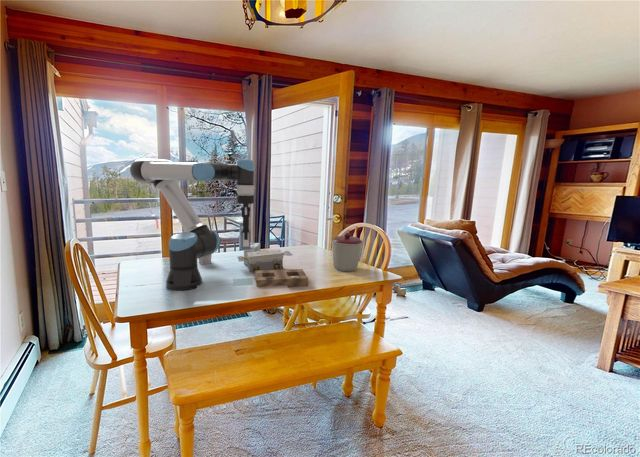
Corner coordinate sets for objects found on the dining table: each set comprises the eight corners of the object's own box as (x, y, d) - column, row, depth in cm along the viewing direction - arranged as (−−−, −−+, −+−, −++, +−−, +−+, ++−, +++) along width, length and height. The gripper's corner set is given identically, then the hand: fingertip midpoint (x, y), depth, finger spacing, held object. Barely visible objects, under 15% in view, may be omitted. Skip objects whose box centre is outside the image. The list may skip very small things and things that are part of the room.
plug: (241, 249, 148) (241, 228, 147) (241, 247, 152) (241, 226, 150) (250, 249, 149) (250, 228, 148) (250, 247, 153) (250, 226, 151)
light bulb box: (249, 259, 193) (249, 242, 191) (260, 260, 193) (260, 242, 191) (243, 265, 183) (243, 246, 181) (255, 265, 182) (255, 247, 180)
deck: (232, 287, 148) (232, 285, 148) (232, 280, 157) (232, 278, 157) (252, 286, 151) (252, 284, 151) (251, 280, 159) (252, 278, 159)
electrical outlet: (294, 270, 175) (293, 252, 173) (240, 277, 166) (238, 258, 164) (288, 264, 186) (288, 247, 184) (237, 270, 177) (236, 252, 175)
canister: (325, 271, 178) (327, 233, 174) (333, 262, 195) (335, 228, 192) (358, 275, 174) (361, 237, 170) (363, 266, 191) (366, 231, 187)
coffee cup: (217, 262, 185) (217, 236, 183) (203, 265, 178) (202, 239, 175) (206, 259, 190) (206, 234, 188) (192, 262, 182) (191, 236, 180)
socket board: (256, 288, 149) (256, 279, 148) (254, 278, 162) (254, 270, 161) (307, 286, 155) (308, 277, 154) (302, 276, 168) (302, 268, 167)
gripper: (254, 196, 139) (254, 249, 143) (253, 193, 155) (253, 240, 160) (236, 196, 137) (237, 249, 142) (237, 192, 154) (237, 241, 158)
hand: (245, 245), depth 151 cm, fingers closed on plug, 4 cm apart
